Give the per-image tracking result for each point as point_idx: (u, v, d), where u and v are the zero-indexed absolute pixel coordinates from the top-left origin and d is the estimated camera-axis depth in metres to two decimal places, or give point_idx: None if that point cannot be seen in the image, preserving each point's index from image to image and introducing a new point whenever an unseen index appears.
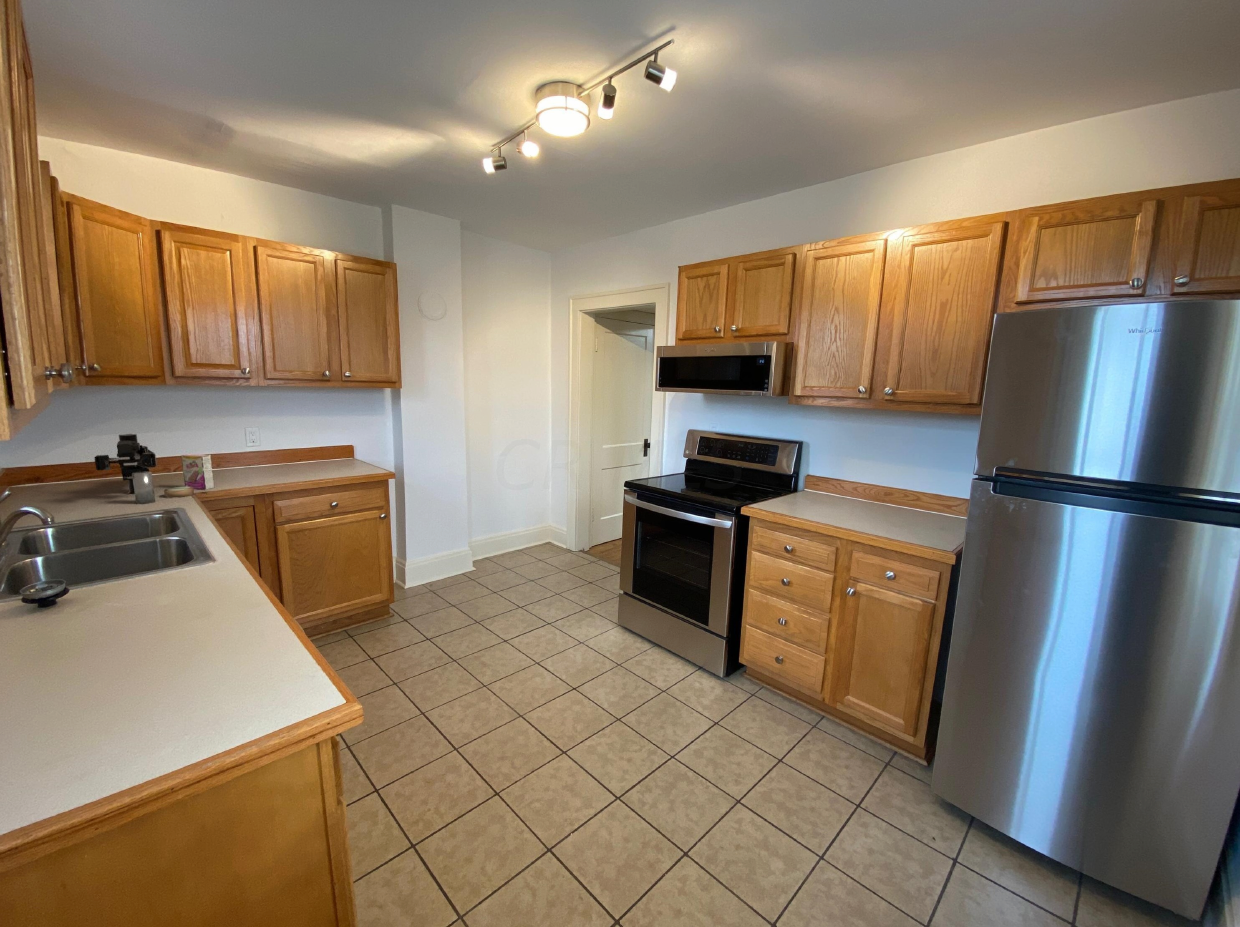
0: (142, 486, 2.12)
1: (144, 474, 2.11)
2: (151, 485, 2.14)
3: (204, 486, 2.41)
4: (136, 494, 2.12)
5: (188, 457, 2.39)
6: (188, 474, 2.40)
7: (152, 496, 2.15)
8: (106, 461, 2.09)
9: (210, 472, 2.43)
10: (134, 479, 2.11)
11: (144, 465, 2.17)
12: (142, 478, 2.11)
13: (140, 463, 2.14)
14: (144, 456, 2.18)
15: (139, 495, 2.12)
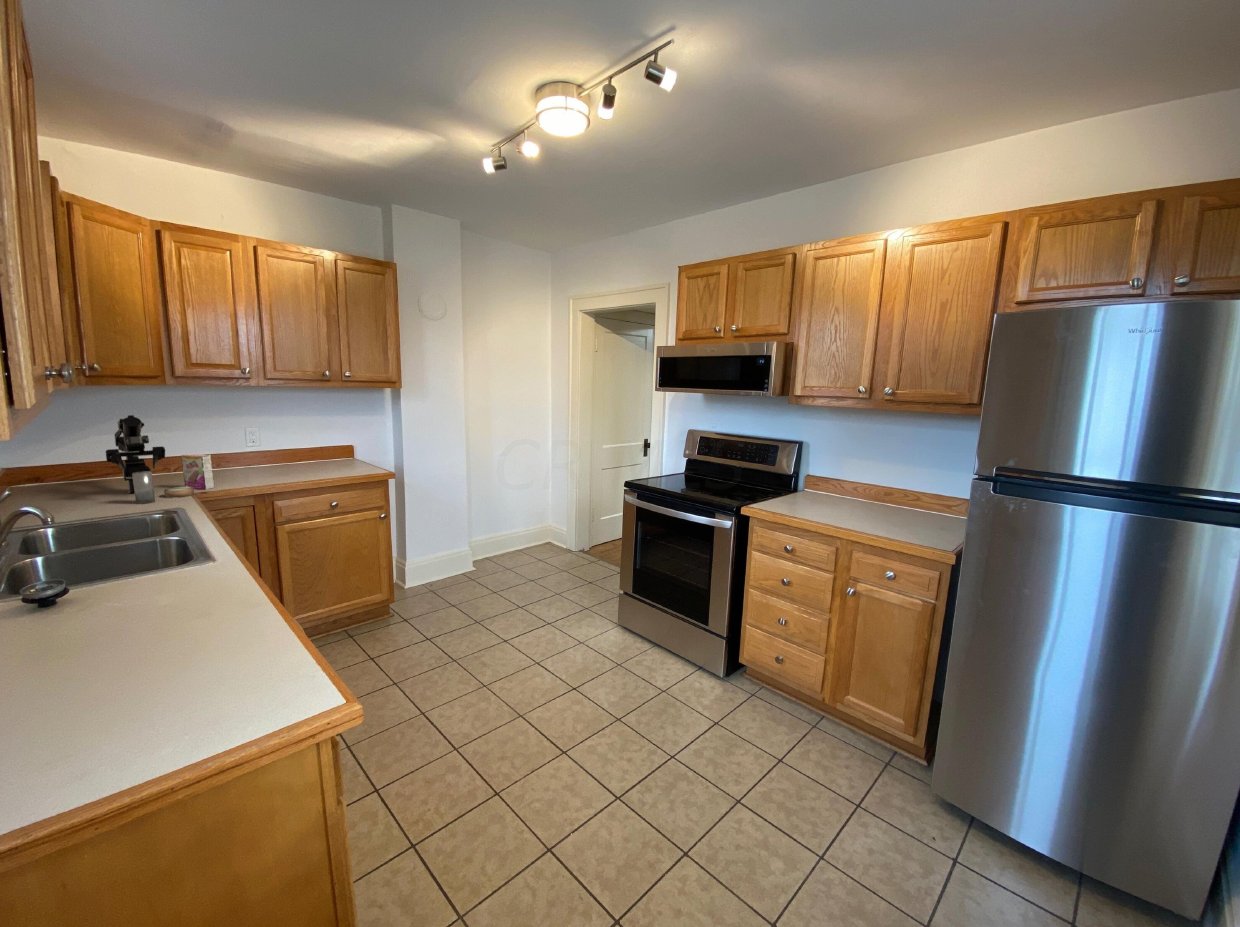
0: (142, 486, 2.12)
1: (144, 474, 2.11)
2: (151, 485, 2.14)
3: (204, 486, 2.41)
4: (136, 494, 2.12)
5: (188, 457, 2.39)
6: (188, 474, 2.40)
7: (152, 496, 2.15)
8: (121, 461, 2.15)
9: (210, 472, 2.43)
10: (134, 479, 2.11)
11: (156, 462, 2.25)
12: (142, 478, 2.11)
13: (155, 465, 2.22)
14: (156, 454, 2.23)
15: (139, 495, 2.12)
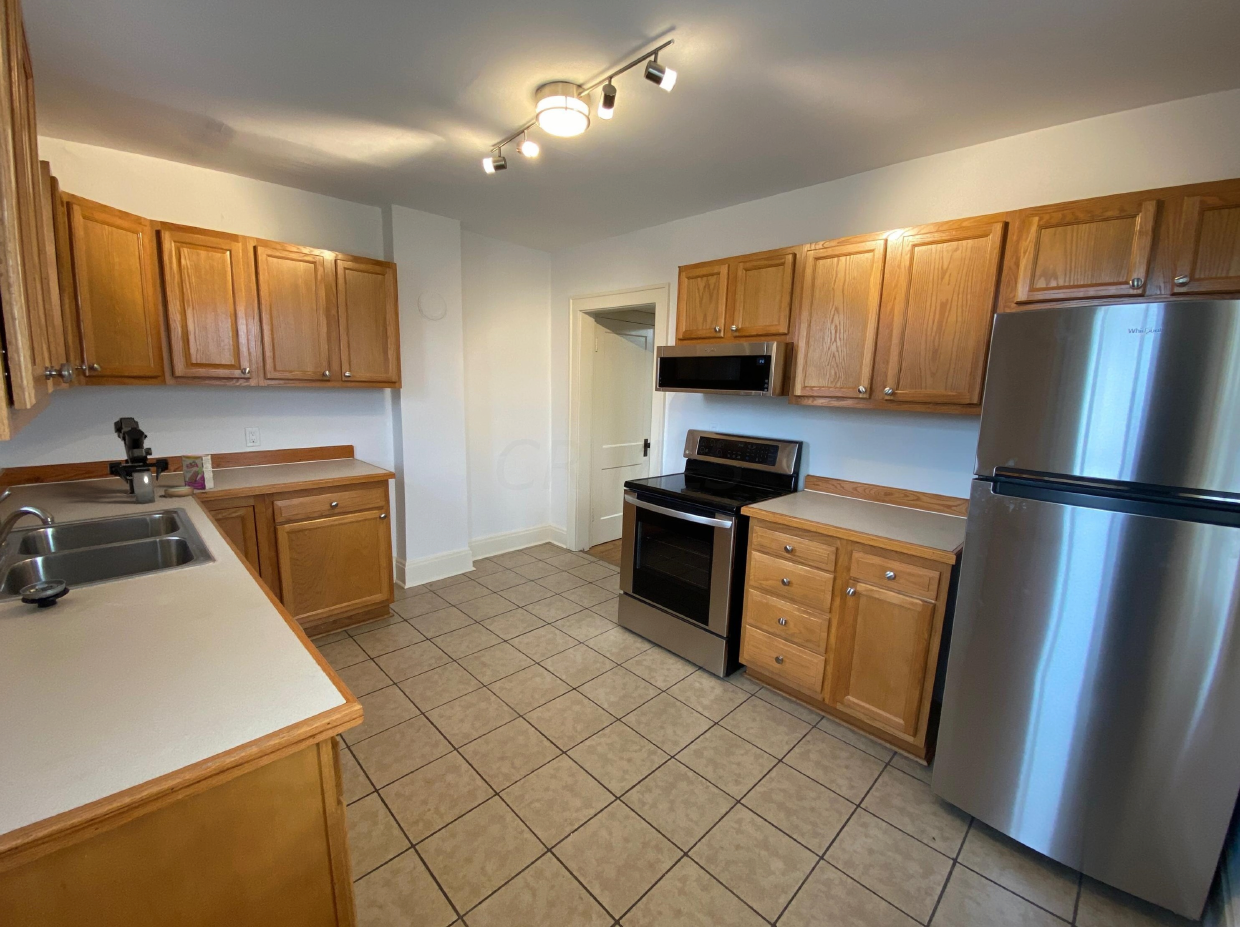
0: (142, 486, 2.12)
1: (144, 474, 2.11)
2: (151, 485, 2.14)
3: (204, 486, 2.41)
4: (136, 494, 2.12)
5: (188, 457, 2.39)
6: (188, 474, 2.40)
7: (152, 496, 2.15)
8: (124, 474, 2.11)
9: (210, 472, 2.43)
10: (134, 479, 2.11)
11: (159, 474, 2.21)
12: (142, 478, 2.11)
13: (158, 477, 2.19)
14: (159, 466, 2.20)
15: (139, 495, 2.12)
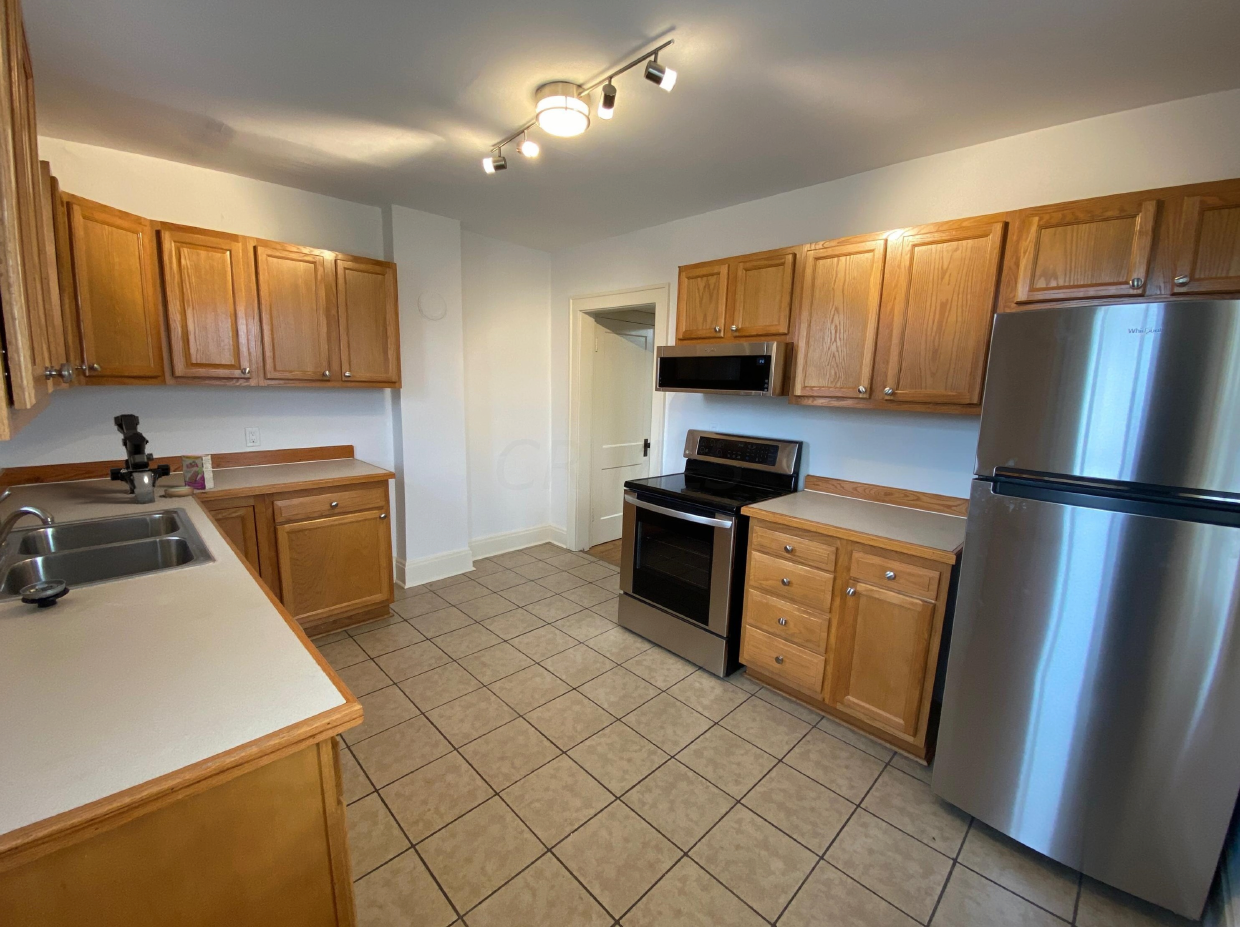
0: (142, 486, 2.12)
1: (144, 474, 2.11)
2: (151, 485, 2.14)
3: (204, 486, 2.41)
4: (136, 494, 2.12)
5: (188, 457, 2.39)
6: (188, 474, 2.40)
7: (152, 496, 2.15)
8: (130, 480, 2.11)
9: (210, 472, 2.43)
10: (134, 479, 2.11)
11: (156, 480, 2.19)
12: (142, 478, 2.11)
13: (155, 483, 2.16)
14: (156, 472, 2.17)
15: (139, 495, 2.12)
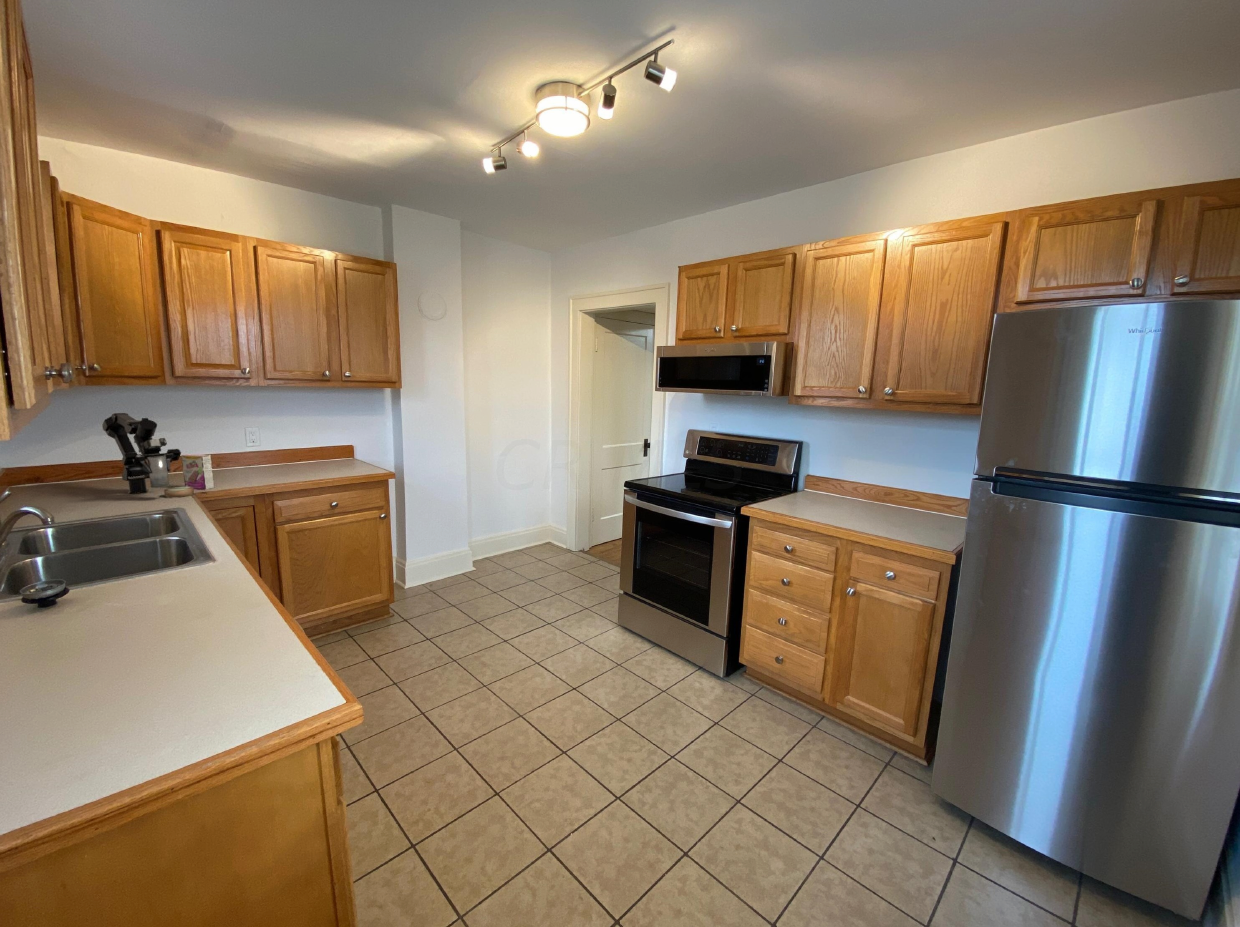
0: (159, 470, 2.16)
1: (161, 458, 2.17)
2: (166, 469, 2.19)
3: (204, 486, 2.41)
4: (152, 478, 2.16)
5: (188, 457, 2.39)
6: (188, 474, 2.40)
7: (167, 480, 2.20)
8: (145, 464, 2.15)
9: (210, 472, 2.43)
10: (150, 463, 2.15)
11: None
12: (159, 462, 2.16)
13: None
14: (169, 456, 2.22)
15: (155, 479, 2.16)
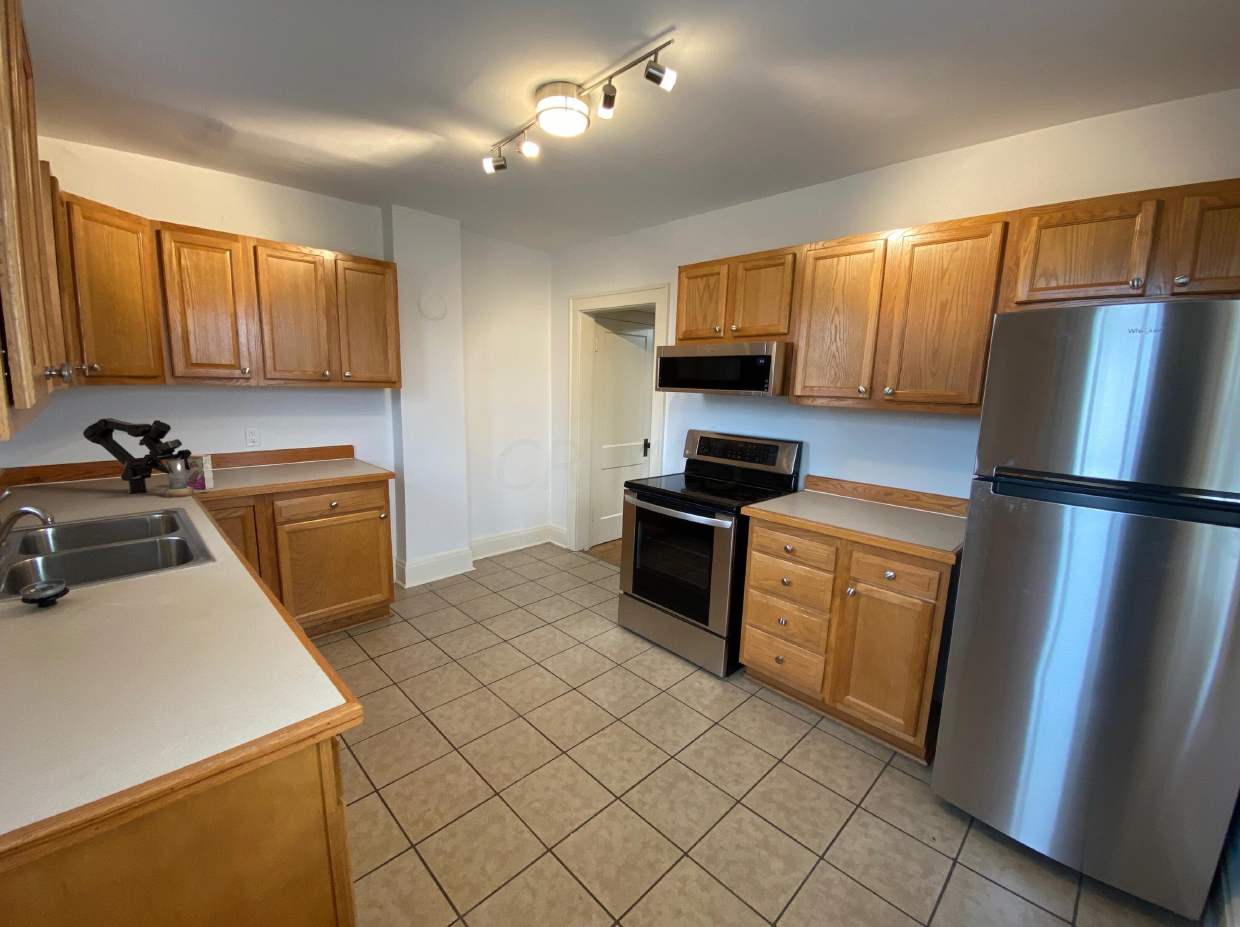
0: (180, 473, 2.26)
1: (182, 461, 2.26)
2: (185, 472, 2.29)
3: (204, 486, 2.41)
4: (174, 480, 2.25)
5: None
6: (188, 474, 2.40)
7: (186, 482, 2.30)
8: (163, 465, 2.22)
9: (210, 472, 2.43)
10: (172, 466, 2.24)
11: None
12: (180, 465, 2.26)
13: None
14: (186, 456, 2.32)
15: (177, 481, 2.25)
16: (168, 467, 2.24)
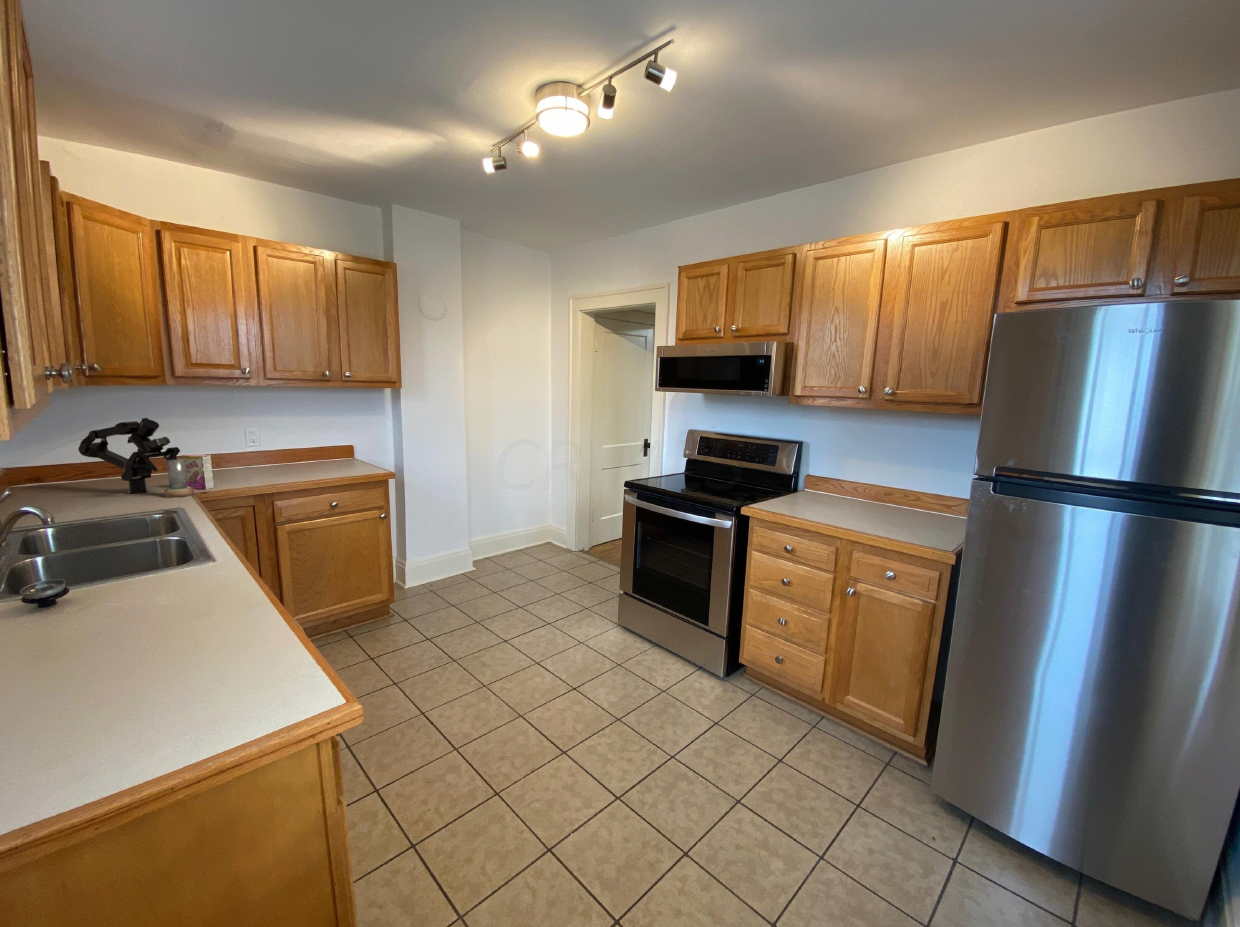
0: (181, 473, 2.26)
1: (182, 461, 2.26)
2: (185, 471, 2.29)
3: (204, 486, 2.41)
4: (174, 480, 2.25)
5: (188, 457, 2.39)
6: (188, 474, 2.40)
7: (186, 482, 2.30)
8: (150, 463, 2.22)
9: (210, 472, 2.43)
10: (172, 466, 2.24)
11: None
12: (181, 465, 2.26)
13: None
14: (175, 454, 2.33)
15: (177, 481, 2.25)
16: (168, 467, 2.24)
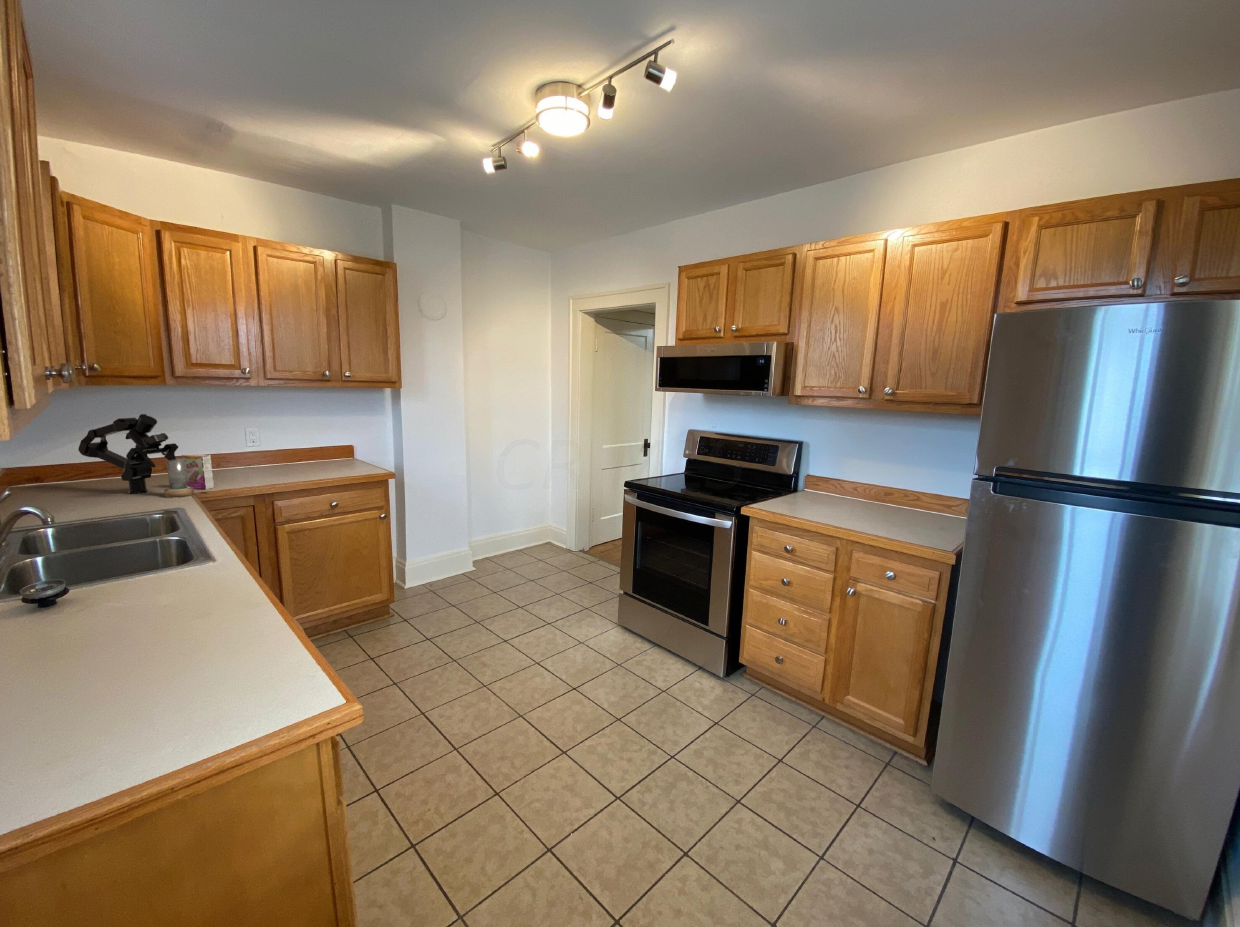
0: (180, 473, 2.26)
1: (182, 461, 2.26)
2: (185, 471, 2.29)
3: (204, 486, 2.41)
4: (174, 480, 2.25)
5: (188, 457, 2.39)
6: (188, 474, 2.40)
7: (186, 482, 2.30)
8: (148, 459, 2.22)
9: (210, 472, 2.43)
10: (172, 466, 2.24)
11: None
12: (181, 465, 2.26)
13: None
14: (173, 450, 2.33)
15: (177, 481, 2.25)
16: (168, 467, 2.24)
